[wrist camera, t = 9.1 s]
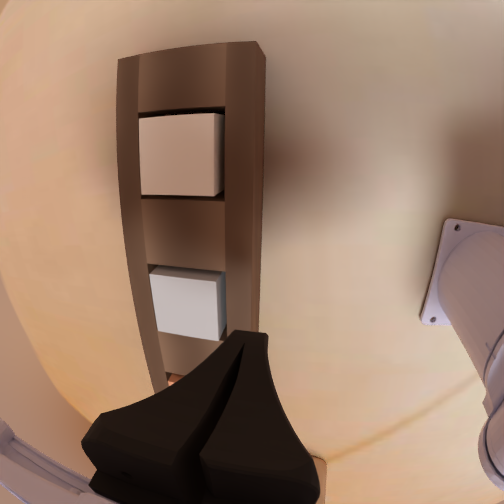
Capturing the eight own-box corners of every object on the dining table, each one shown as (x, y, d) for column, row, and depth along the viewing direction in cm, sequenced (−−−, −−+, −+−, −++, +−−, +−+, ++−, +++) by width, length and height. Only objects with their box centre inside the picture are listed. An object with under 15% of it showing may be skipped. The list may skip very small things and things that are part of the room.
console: (265, 56, 16) (256, 41, 13) (254, 418, 27) (248, 446, 24) (146, 67, 17) (118, 59, 14) (177, 404, 28) (165, 429, 25)
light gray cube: (230, 257, 20) (216, 281, 17) (231, 311, 22) (218, 341, 19) (172, 252, 21) (149, 273, 18) (177, 304, 23) (157, 330, 19)
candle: (327, 474, 30) (322, 542, 21) (283, 475, 31) (272, 542, 22) (326, 453, 28) (321, 531, 19) (277, 455, 29) (263, 530, 20)
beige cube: (231, 116, 17) (214, 113, 14) (230, 184, 19) (214, 196, 15) (166, 119, 18) (138, 118, 15) (167, 183, 19) (141, 194, 16)
